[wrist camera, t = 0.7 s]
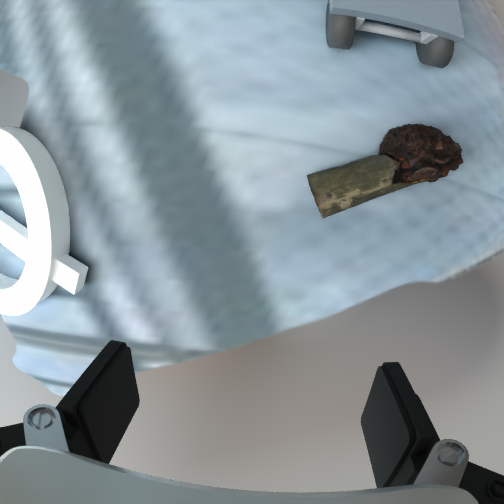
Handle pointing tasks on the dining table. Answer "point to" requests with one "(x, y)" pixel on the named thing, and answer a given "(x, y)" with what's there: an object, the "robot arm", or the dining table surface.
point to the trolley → (399, 13)
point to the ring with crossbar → (36, 226)
